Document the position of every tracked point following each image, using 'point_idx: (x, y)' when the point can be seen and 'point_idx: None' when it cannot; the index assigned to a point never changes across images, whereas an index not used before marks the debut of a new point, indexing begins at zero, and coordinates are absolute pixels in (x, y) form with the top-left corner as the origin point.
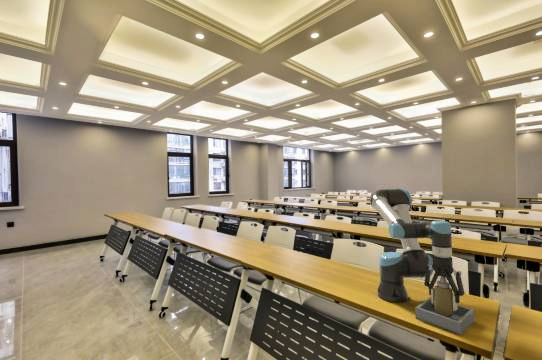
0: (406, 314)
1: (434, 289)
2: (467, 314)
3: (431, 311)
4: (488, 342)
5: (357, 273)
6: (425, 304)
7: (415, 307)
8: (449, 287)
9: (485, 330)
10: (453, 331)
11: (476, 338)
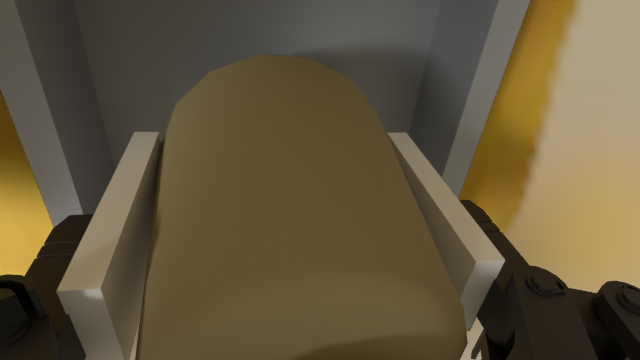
0: (28, 237)
1: (114, 299)
2: (477, 112)
3: (123, 66)
4: (521, 183)
5: None
6: (76, 168)
7: None
8: (431, 351)
9: (534, 42)
10: None
11: (469, 190)
